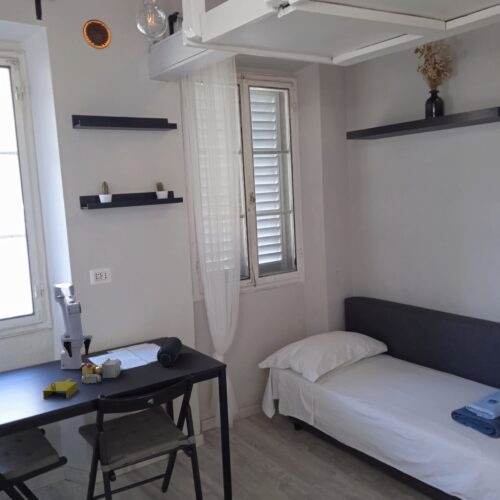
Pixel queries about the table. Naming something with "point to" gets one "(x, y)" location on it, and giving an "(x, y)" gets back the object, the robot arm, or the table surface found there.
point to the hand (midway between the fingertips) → (78, 356)
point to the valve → (91, 369)
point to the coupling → (111, 368)
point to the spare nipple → (91, 378)
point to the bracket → (61, 388)
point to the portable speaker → (169, 351)
